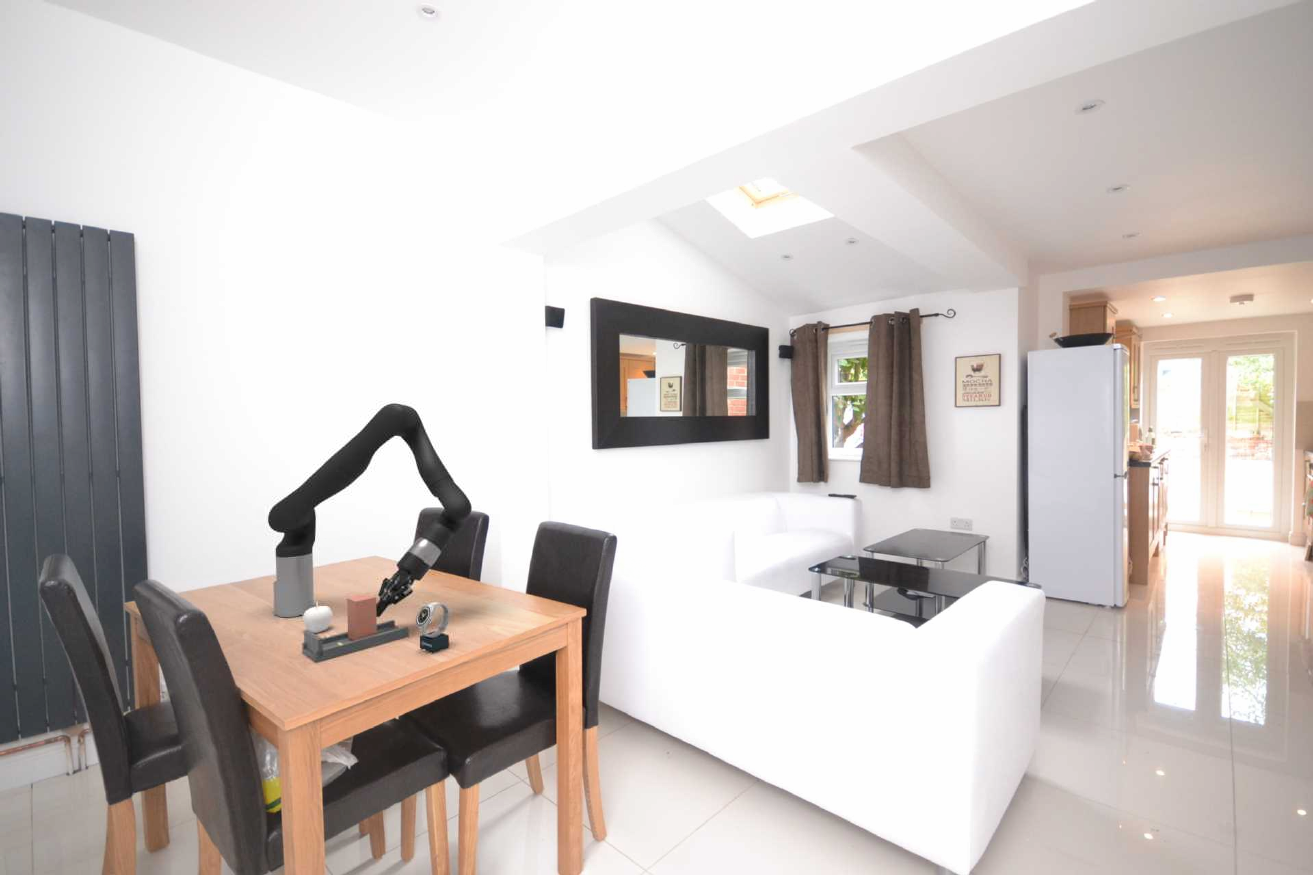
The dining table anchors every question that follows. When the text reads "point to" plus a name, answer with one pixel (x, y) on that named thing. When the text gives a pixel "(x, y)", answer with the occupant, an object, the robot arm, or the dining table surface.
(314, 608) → the plain white apple
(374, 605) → the block
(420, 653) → the dining table surface
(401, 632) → the rail
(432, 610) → the watch
